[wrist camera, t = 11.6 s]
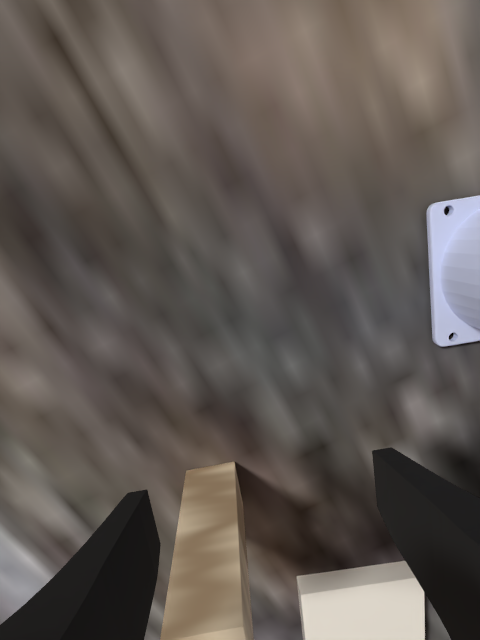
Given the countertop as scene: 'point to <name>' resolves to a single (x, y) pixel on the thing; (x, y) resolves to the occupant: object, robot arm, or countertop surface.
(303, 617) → the tile
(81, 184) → the countertop surface
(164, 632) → the stick
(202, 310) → the countertop surface
